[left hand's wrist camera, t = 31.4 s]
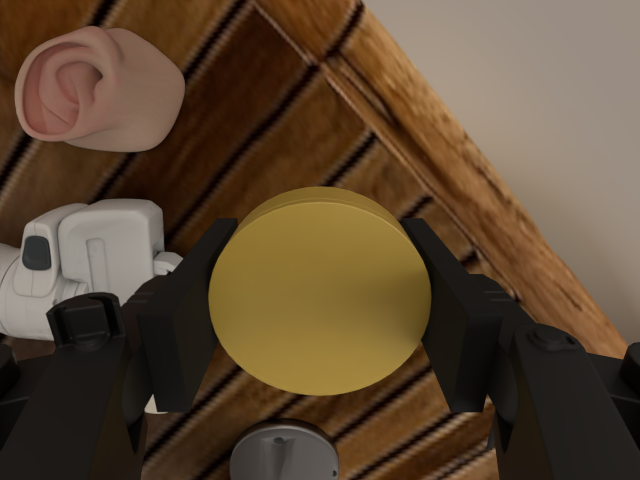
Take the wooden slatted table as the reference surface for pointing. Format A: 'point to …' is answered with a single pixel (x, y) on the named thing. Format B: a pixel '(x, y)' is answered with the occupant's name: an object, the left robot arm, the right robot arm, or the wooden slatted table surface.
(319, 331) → the lid
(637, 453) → the left robot arm
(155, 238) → the right robot arm
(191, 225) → the wooden slatted table surface
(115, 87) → the anatomical model
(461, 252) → the wooden slatted table surface
